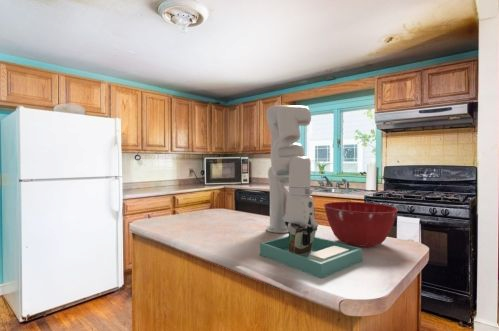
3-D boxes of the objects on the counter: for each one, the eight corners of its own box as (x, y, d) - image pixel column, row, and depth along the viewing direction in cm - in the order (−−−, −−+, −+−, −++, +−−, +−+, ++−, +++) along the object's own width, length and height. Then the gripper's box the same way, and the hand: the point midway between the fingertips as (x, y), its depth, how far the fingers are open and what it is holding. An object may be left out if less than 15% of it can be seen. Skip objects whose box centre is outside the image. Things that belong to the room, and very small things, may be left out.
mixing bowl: (342, 231, 137) (342, 199, 137) (407, 243, 117) (407, 205, 117) (310, 243, 117) (310, 205, 116) (383, 260, 97) (383, 215, 97)
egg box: (334, 256, 97) (334, 245, 97) (350, 261, 93) (350, 249, 93) (307, 266, 88) (307, 253, 88) (324, 272, 84) (324, 259, 84)
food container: (300, 244, 108) (304, 219, 106) (313, 251, 103) (318, 225, 102) (277, 250, 100) (281, 223, 99) (290, 257, 95) (294, 229, 94)
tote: (301, 245, 114) (301, 232, 114) (362, 263, 94) (362, 248, 94) (259, 257, 100) (260, 243, 100) (321, 281, 80) (321, 264, 80)
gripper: (326, 193, 96) (326, 246, 96) (288, 189, 109) (288, 236, 109) (312, 195, 91) (312, 251, 91) (274, 190, 104) (274, 239, 105)
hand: (299, 242), depth 100 cm, fingers open, 5 cm apart
